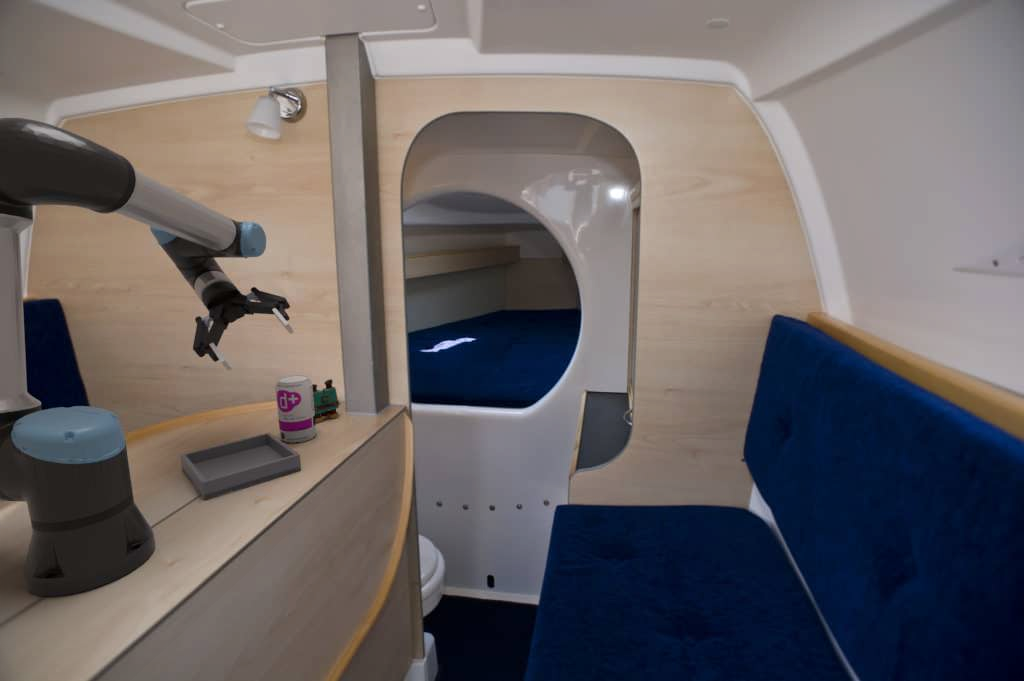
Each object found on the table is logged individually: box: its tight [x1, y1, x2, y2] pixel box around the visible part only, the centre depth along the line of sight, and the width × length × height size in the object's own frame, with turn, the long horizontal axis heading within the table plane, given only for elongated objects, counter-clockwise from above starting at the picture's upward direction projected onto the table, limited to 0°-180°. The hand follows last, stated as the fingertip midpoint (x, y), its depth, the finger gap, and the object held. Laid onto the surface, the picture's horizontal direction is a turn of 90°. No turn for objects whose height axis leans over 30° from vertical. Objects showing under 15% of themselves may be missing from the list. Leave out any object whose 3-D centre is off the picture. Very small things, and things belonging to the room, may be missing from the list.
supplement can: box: [275, 374, 317, 444], centre depth 125 cm, size 8×8×15 cm
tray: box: [179, 432, 302, 501], centre depth 108 cm, size 18×18×4 cm
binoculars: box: [312, 378, 340, 424], centre depth 140 cm, size 9×11×10 cm
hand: (259, 346), depth 104 cm, fingers open, 13 cm apart
